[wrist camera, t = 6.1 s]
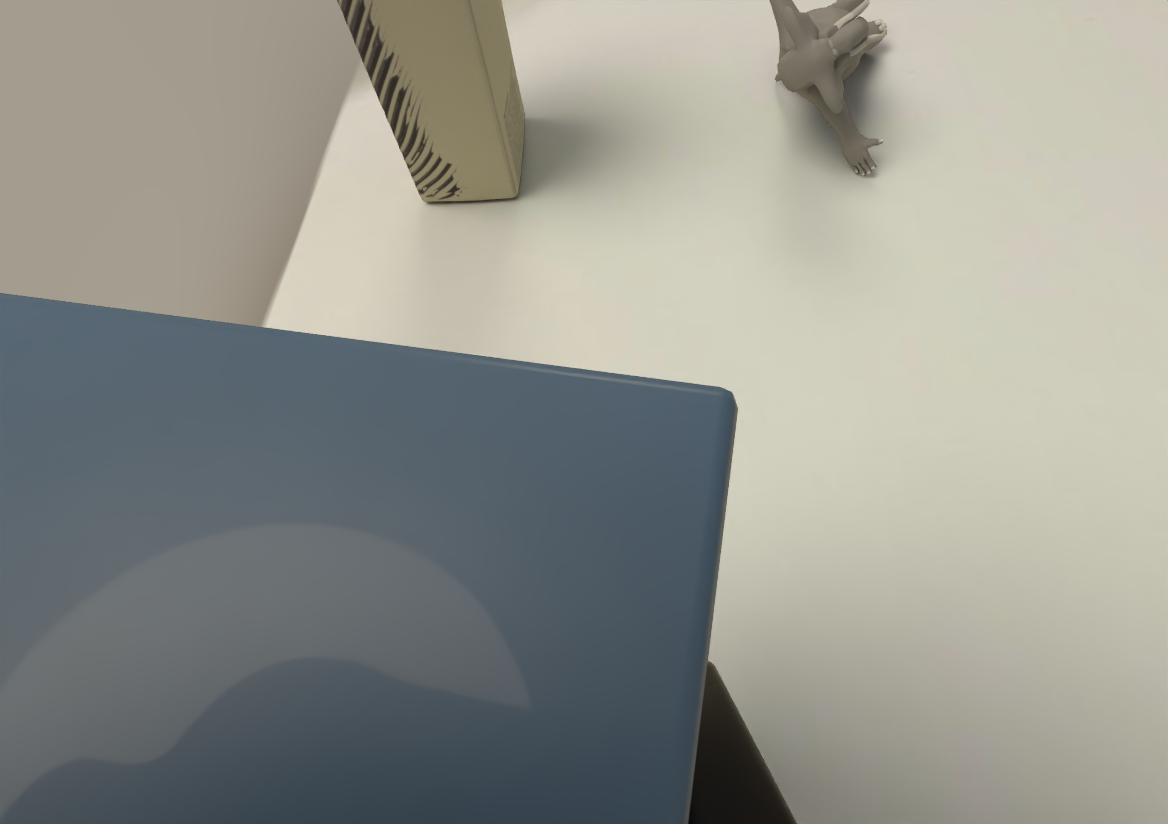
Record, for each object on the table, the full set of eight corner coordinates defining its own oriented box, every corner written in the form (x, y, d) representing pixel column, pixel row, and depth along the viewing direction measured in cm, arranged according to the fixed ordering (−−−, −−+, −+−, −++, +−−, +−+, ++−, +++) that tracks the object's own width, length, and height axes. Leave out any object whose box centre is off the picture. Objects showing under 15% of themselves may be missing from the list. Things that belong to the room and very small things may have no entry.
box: (434, 121, 32) (312, -225, 21) (529, 116, 32) (457, -241, 21) (420, 211, 30) (274, -123, 19) (521, 206, 30) (436, -138, 18)
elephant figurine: (976, 86, 31) (926, 161, 25) (849, 152, 35) (783, 228, 29) (873, -144, 28) (792, -117, 22) (750, -41, 32) (657, 2, 27)
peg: (642, 915, 12) (503, 2381, 1) (429, 859, 13) (-914, 1483, 2) (674, 678, 14) (742, 380, 3) (484, 639, 15) (-61, 277, 4)
